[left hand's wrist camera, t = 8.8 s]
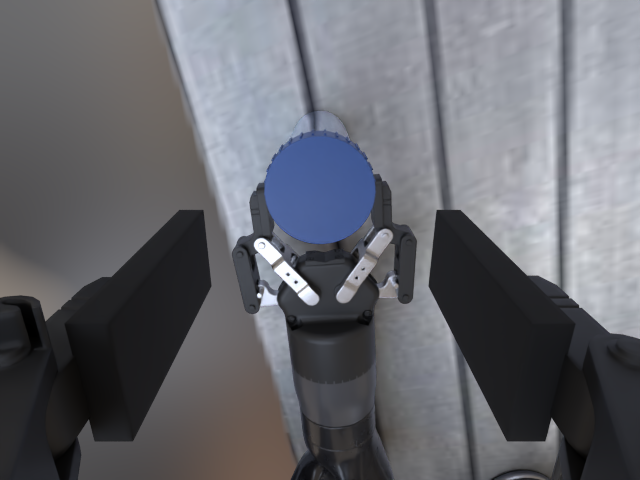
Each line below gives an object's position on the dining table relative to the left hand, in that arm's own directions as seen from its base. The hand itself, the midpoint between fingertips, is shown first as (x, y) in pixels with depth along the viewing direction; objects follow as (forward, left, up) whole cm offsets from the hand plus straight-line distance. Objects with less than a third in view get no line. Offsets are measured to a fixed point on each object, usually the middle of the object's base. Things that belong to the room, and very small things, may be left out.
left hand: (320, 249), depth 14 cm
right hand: (+2, +1, -19) cm, 19 cm away
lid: (0, 0, -7) cm, 7 cm away
